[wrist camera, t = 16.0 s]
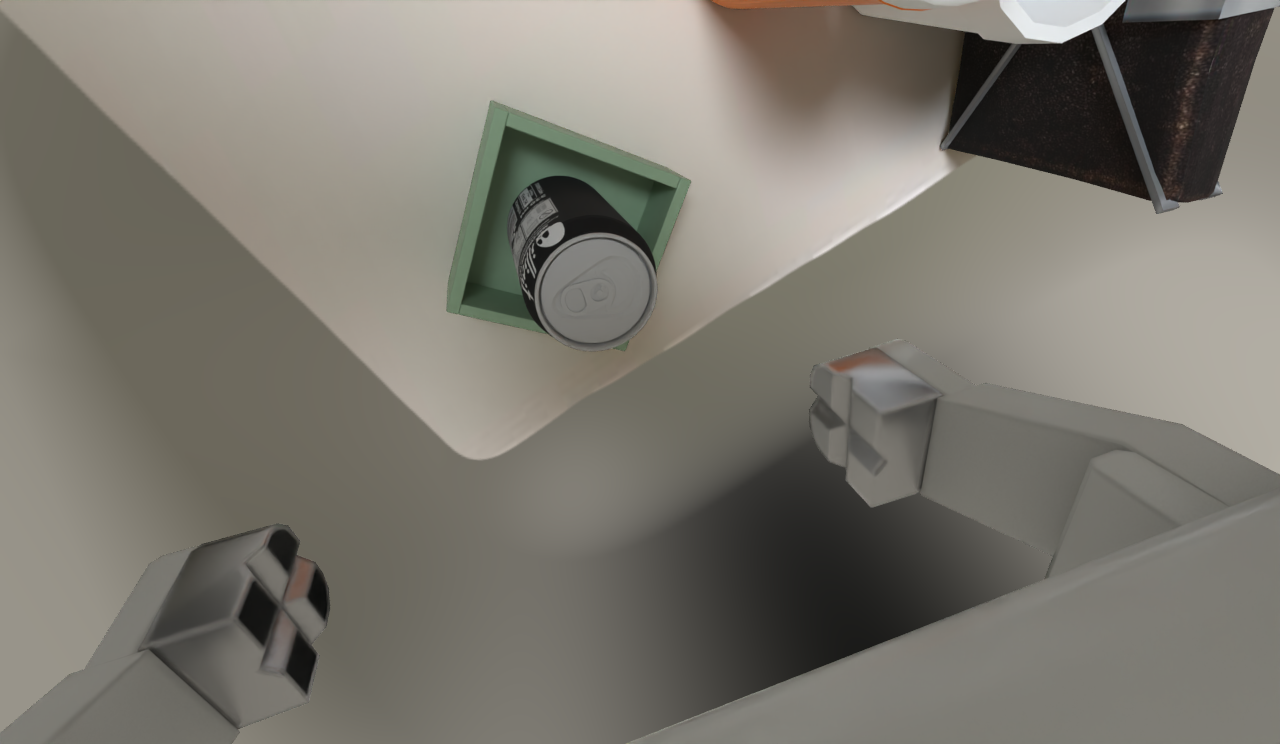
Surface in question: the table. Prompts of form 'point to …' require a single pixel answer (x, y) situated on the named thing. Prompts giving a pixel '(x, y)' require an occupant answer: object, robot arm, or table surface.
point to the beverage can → (580, 265)
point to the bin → (518, 159)
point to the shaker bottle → (842, 3)
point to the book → (1117, 98)
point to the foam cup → (1009, 18)
